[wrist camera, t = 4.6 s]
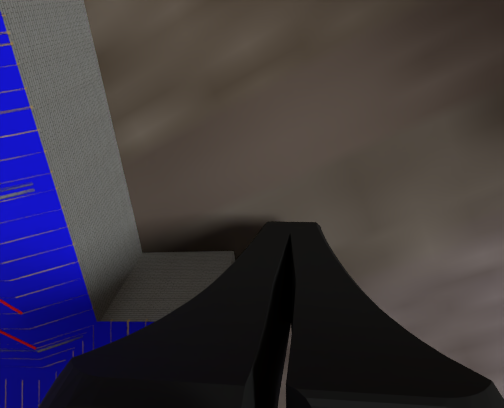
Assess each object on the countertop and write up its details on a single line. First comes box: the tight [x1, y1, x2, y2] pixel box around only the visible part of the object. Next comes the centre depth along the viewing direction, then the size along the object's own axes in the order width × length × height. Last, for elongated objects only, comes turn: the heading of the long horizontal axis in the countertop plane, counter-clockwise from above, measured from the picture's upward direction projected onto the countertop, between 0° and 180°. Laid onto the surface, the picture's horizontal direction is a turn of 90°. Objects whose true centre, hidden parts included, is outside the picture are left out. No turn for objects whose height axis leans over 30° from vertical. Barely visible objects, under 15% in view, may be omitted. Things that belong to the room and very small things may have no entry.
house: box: [0, 0, 235, 408], centre depth 12 cm, size 11×15×5 cm
